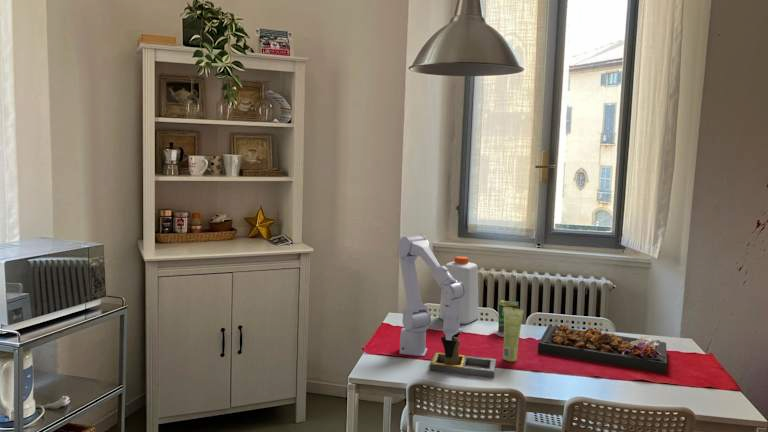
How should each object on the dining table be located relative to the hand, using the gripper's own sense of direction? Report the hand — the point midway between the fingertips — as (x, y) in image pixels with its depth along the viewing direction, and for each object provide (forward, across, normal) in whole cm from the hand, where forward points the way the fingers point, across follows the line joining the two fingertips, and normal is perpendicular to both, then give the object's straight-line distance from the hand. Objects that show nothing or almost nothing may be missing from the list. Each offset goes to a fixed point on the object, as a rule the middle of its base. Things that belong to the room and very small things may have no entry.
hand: (450, 353), depth 220 cm
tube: (+5, +14, -21) cm, 26 cm away
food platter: (+6, +33, -55) cm, 65 cm away
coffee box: (+5, +47, -19) cm, 51 cm away
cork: (+5, 0, -1) cm, 5 cm away
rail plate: (+5, 0, -5) cm, 7 cm away
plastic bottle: (+5, +59, +3) cm, 59 cm away
